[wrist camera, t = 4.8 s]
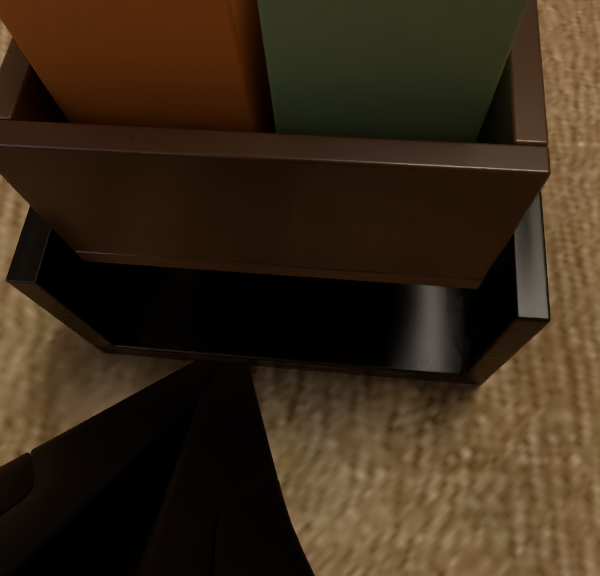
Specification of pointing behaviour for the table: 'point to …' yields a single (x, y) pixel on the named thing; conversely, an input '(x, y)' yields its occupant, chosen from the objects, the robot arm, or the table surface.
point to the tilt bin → (283, 187)
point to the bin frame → (294, 311)
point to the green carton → (386, 65)
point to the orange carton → (148, 61)
